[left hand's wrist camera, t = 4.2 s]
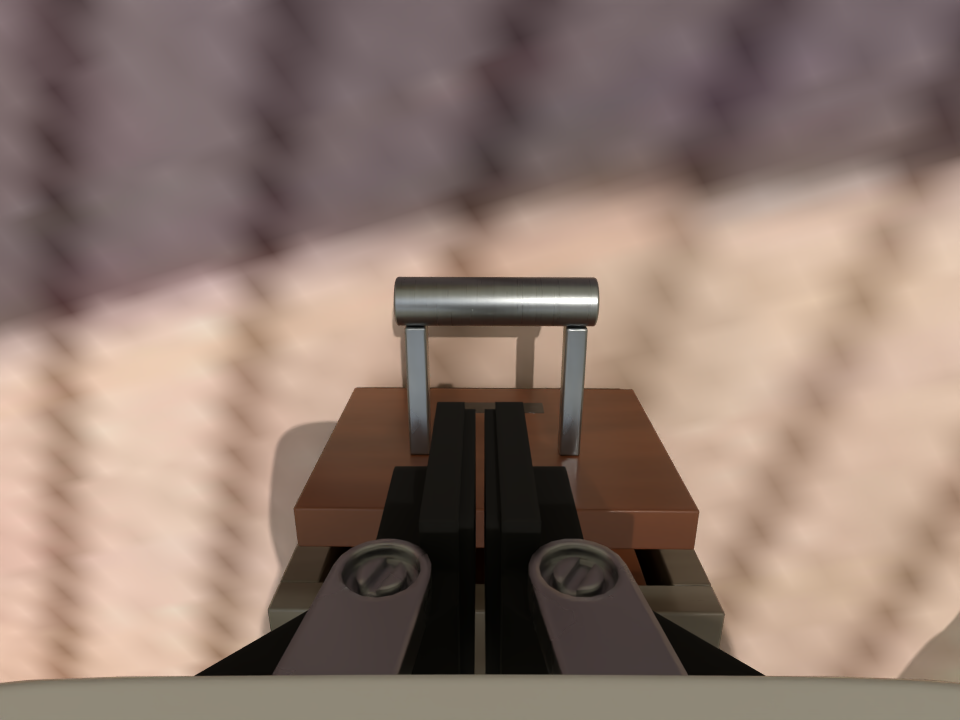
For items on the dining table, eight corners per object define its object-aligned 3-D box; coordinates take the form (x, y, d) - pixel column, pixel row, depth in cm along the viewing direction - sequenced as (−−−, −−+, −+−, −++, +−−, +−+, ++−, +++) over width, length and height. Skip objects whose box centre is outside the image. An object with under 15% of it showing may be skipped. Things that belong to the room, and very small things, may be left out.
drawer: (343, 245, 21) (268, 307, 14) (646, 246, 21) (729, 309, 14) (383, 767, 30) (349, 974, 23) (597, 770, 30) (633, 978, 23)
